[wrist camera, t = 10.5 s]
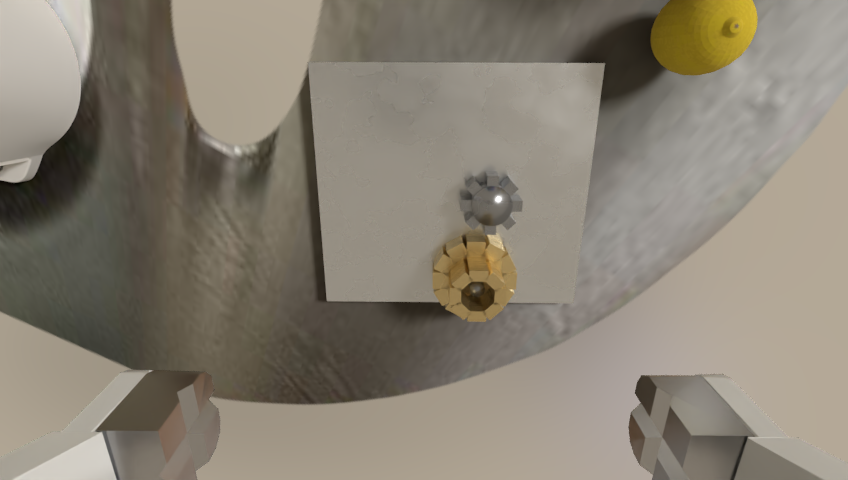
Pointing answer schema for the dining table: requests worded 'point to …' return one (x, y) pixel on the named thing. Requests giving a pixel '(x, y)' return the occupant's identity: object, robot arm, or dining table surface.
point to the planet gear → (474, 276)
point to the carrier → (451, 171)
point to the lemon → (702, 34)
